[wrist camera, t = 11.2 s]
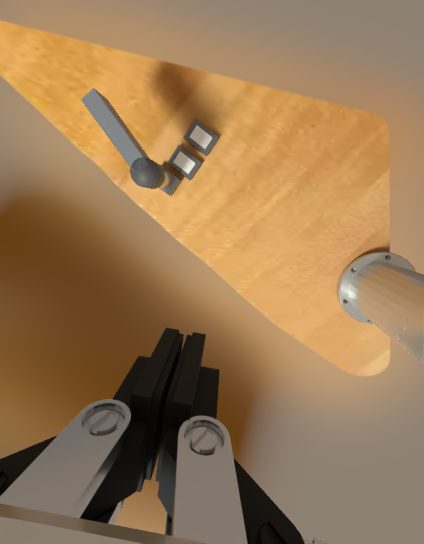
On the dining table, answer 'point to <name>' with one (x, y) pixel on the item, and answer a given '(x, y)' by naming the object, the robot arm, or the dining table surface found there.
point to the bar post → (169, 182)
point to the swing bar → (124, 141)
